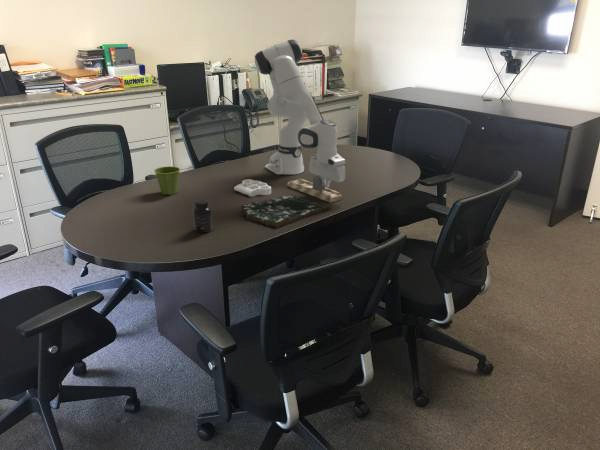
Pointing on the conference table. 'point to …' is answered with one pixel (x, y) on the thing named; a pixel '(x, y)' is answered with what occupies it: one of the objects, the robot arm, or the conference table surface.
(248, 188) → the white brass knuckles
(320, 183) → the grey rectangular block
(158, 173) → the plant pot
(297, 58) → the robot arm
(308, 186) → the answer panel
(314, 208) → the floral canvas painting
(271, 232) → the conference table surface
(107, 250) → the conference table surface
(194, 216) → the supplement bottle
